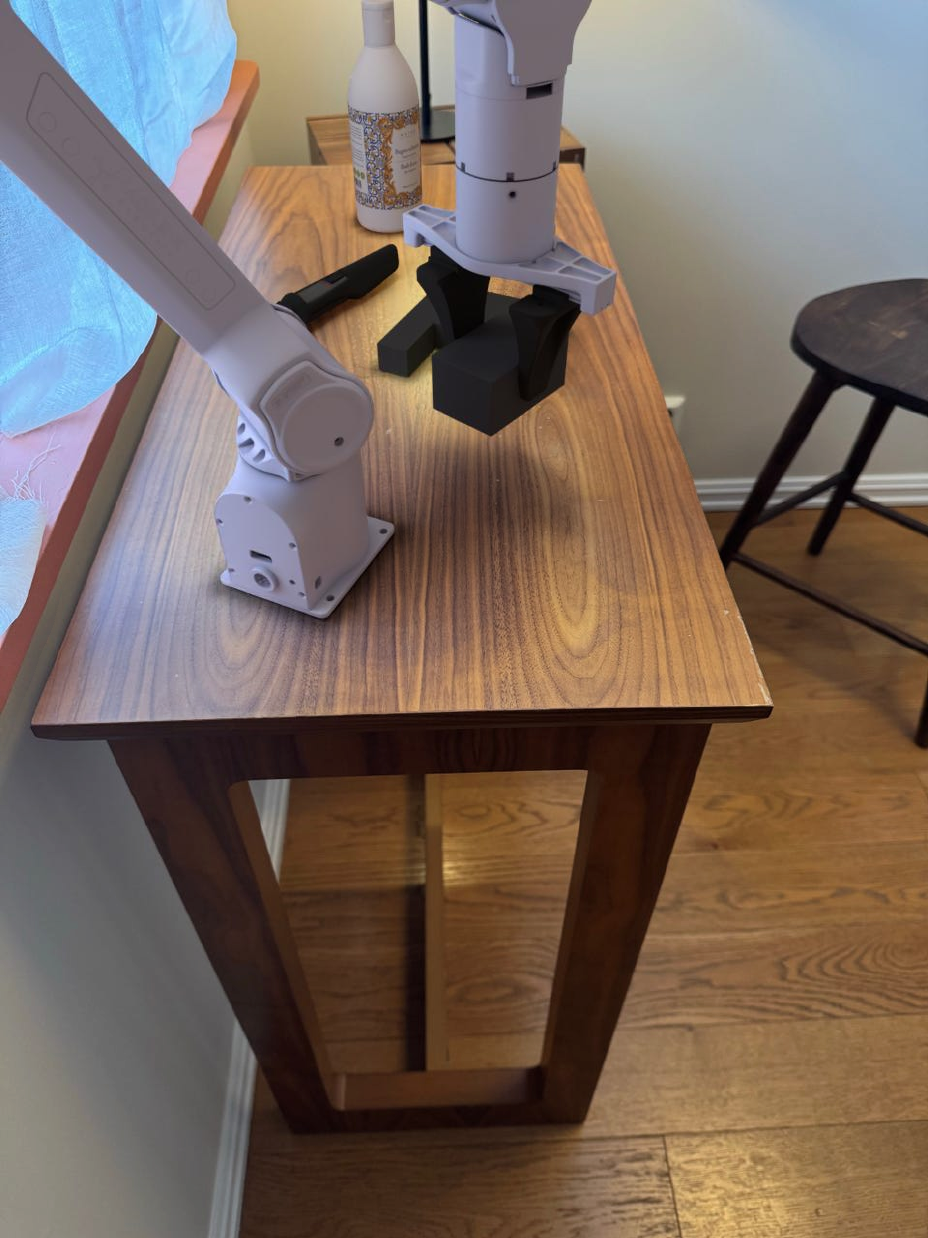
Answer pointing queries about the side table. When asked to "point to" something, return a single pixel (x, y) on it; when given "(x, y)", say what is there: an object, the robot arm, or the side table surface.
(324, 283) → the electric trimmer
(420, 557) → the side table surface
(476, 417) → the rectangular block
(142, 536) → the side table surface
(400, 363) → the base pad
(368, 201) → the bath foam
